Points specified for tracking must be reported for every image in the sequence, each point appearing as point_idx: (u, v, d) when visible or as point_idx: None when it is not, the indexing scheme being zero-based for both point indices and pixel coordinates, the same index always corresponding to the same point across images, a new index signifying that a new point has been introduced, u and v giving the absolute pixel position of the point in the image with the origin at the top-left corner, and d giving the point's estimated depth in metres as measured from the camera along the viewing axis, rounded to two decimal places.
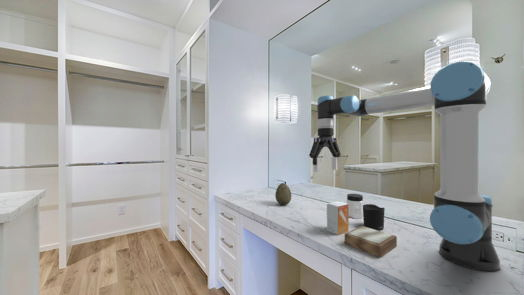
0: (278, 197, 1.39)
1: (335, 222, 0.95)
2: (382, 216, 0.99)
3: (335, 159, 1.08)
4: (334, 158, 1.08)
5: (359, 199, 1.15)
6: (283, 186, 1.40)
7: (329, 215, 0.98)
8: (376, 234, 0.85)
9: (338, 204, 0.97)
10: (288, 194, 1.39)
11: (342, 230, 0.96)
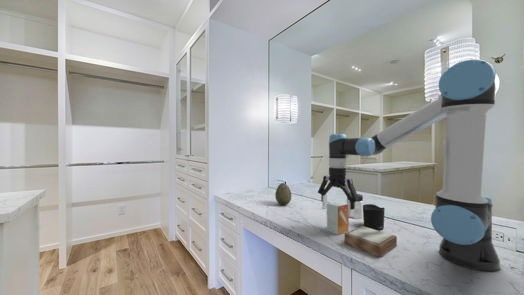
0: (278, 197, 1.39)
1: (335, 222, 0.95)
2: (382, 216, 0.99)
3: None
4: None
5: (359, 199, 1.15)
6: (283, 186, 1.40)
7: (329, 215, 0.98)
8: (376, 234, 0.85)
9: (338, 204, 0.97)
10: (288, 194, 1.39)
11: (342, 230, 0.96)
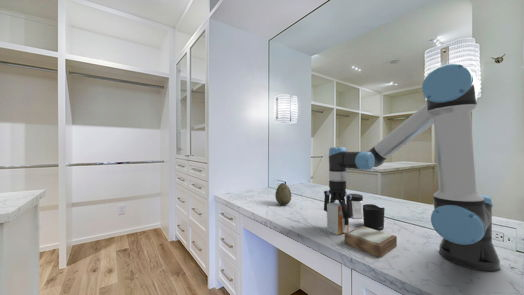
0: (278, 197, 1.39)
1: (336, 222, 0.95)
2: (382, 216, 0.99)
3: None
4: None
5: (359, 199, 1.15)
6: (283, 186, 1.40)
7: (329, 215, 0.98)
8: (376, 234, 0.85)
9: (338, 204, 0.97)
10: (288, 194, 1.39)
11: None
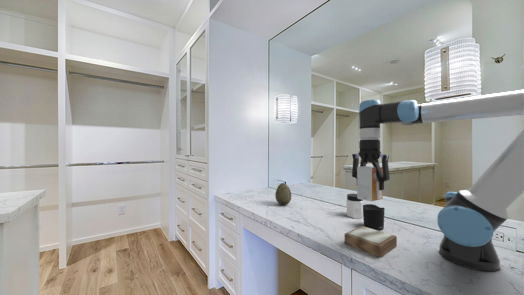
0: (278, 197, 1.39)
1: (369, 186, 0.81)
2: (382, 216, 0.99)
3: None
4: None
5: (359, 199, 1.15)
6: (283, 186, 1.40)
7: (360, 180, 0.84)
8: (376, 234, 0.85)
9: None
10: (288, 194, 1.39)
11: None
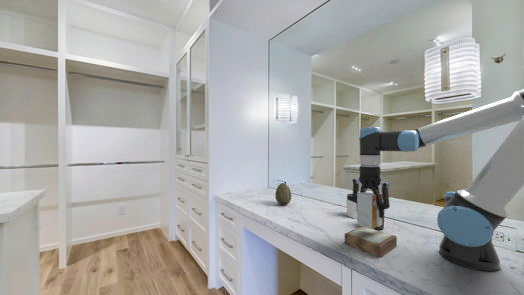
0: (278, 197, 1.39)
1: (369, 214, 0.81)
2: None
3: None
4: None
5: None
6: (283, 186, 1.40)
7: (360, 206, 0.84)
8: (376, 234, 0.85)
9: (371, 193, 0.83)
10: (288, 194, 1.39)
11: None
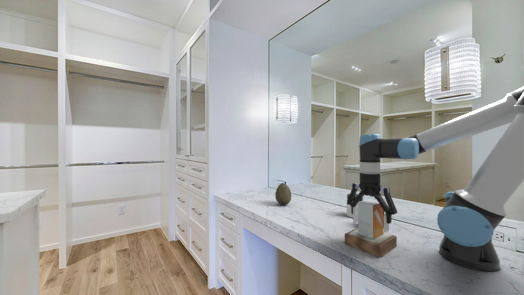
0: (278, 197, 1.39)
1: (370, 224, 0.81)
2: None
3: None
4: None
5: None
6: (283, 186, 1.40)
7: (361, 216, 0.84)
8: None
9: (372, 203, 0.83)
10: (288, 194, 1.39)
11: (377, 233, 0.82)
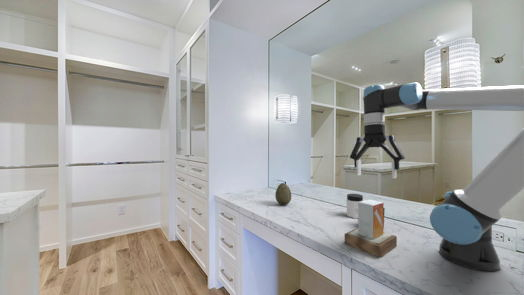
0: (278, 197, 1.39)
1: (370, 224, 0.81)
2: None
3: None
4: None
5: (359, 199, 1.16)
6: (283, 186, 1.40)
7: (361, 216, 0.84)
8: None
9: (372, 203, 0.83)
10: (288, 194, 1.39)
11: (377, 233, 0.82)
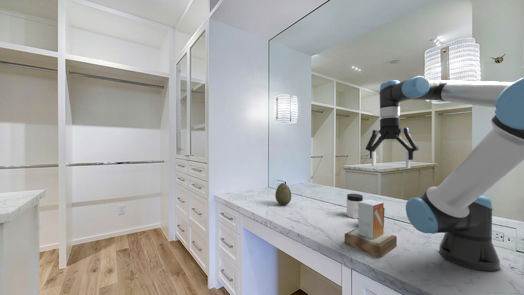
0: (278, 197, 1.39)
1: (370, 224, 0.81)
2: None
3: None
4: None
5: (359, 199, 1.16)
6: (283, 186, 1.40)
7: (361, 216, 0.84)
8: None
9: (372, 203, 0.83)
10: (288, 194, 1.39)
11: (377, 233, 0.82)
